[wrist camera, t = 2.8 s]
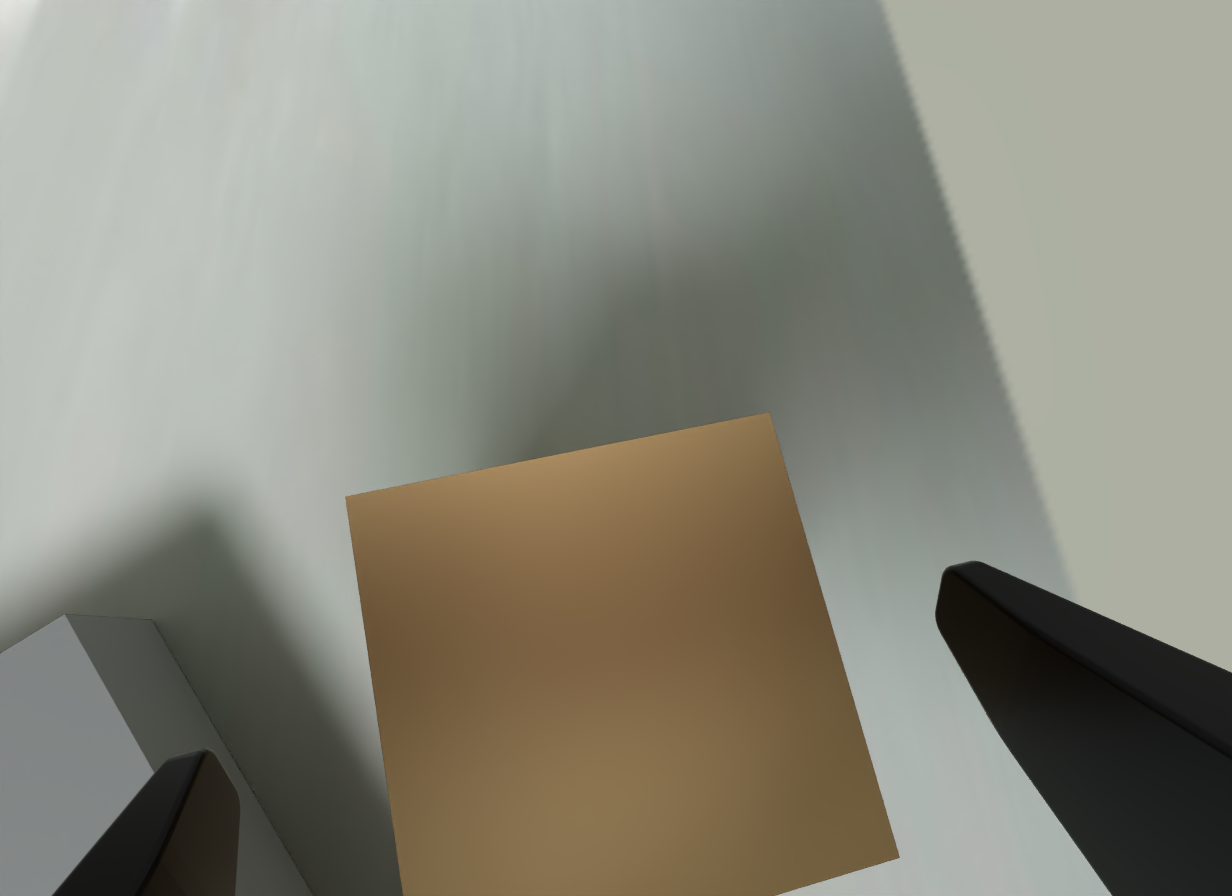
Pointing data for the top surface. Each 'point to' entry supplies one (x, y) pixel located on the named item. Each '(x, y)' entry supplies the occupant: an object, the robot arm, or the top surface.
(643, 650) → the caramel block
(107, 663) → the gray plinth
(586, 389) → the top surface
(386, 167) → the top surface
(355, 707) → the top surface
